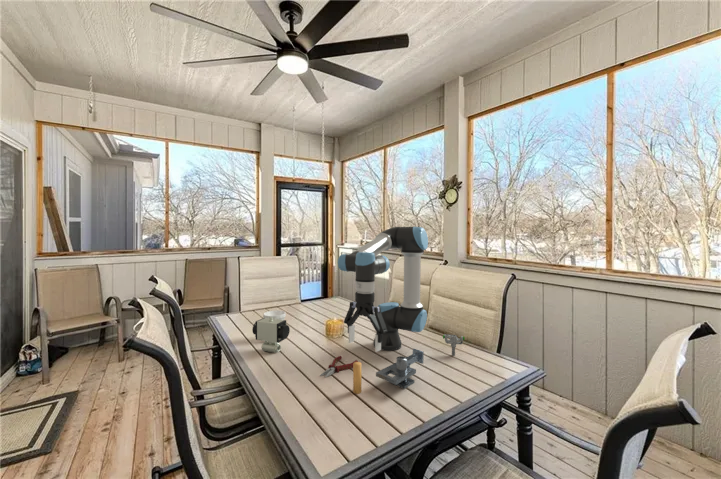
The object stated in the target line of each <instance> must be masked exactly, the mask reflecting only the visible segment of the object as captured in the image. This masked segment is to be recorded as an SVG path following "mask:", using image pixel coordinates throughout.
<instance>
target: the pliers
mask: <svg viewBox="0 0 721 479" xmlns="http://www.w3.org/2000/svg"><path fill="white" fill-rule="evenodd" d="M342 359H343V357H342V355H338V356H337V357H335V358H334V359H333V361H332V364H329V365H328V367H327V368H328V369H326V370H324V371H323V372H322V373H321V374H320V375H319V376H320V377H323V376H324V378H327V377H330V376H331V375H333V374H335V373H338V374H339V373H340V372H341V371H346V370H350V369H353V363H354V362H359V361H358V360H357V359H356V360H354V361H352V362H350V363H346V364H341V365H336V364H337V363H338V362H340V361H342Z"/></svg>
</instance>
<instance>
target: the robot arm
mask: <svg viewBox="0 0 721 479" xmlns="http://www.w3.org/2000/svg"><path fill="white" fill-rule="evenodd" d="M428 245H429V238H428V233H427V231H426V230H425V228H424V227H422V226H393V227H390V228H388V229H385V230H383V231H381V232H380V233H378V234H377V235H376V236H375V238H374V239H372V240H371V241H369V242H367V243H365V244H364V245H362V246H361V247H359V248H358V249H356V250H354V251H353V252H351V253H342V254H341V255H339V257H338V259H337V267H338V269H339V270H340V271H343V272H347V273H348V272H350V273H355V280H354V281H355V283H354V284H355V288H354V289H355V293H354V296H355V297H354V301H350V302H349V307H348V310H347V312H346V315H345V318H344V320H343V323H344V324H346V326H347V334H348V343H349V344H351V343H353V342H356V341H355V338H356V337H355V333H356V330H355V327H356V326H355V325H354V324H355V322H356V321H357V320H358V318H359V317H360V316H361V317H362V316H363V317H365V318H367V319H368V320H369V322H370V323H371V324H372V327H373V328H374V331H375V332H376V333H375V334H374V340H373V348H374V351H375V352H376V353H377V352H380V351H387V352H389V351H390V352H391V351H397V350H399V349H401V348H402V340H401V336H400V334H399V330H403V331H406V332H407V331H409V332H412V333H421V332H422V331H423V330H424V329H425V327H426V323H427V320H428V319H427V318H428V313H427V310H425V309H424V305H423V304H422V302H421V271H422V269H421V265H422V264H421V263H422V257H421V256H423V254H424V253H425V252H424V251H425V250H427V249H428V247H429V246H428ZM390 249H391V250H393V249H399V250H400V252H401V254H402V256H403V299H402V300H403V301H402V302H401V303H400V304H399V302H395V301H393V302H392V301H390V302H384V303H380V304H378V306H375V305H374V303H375V299H376V298H375V296H376V294H375V290H376V288H375V287H376V286H375V284H376V283H375V282H376V281H375V279H376V278H375V276H376V275H381V274H384V273H386V272H388V270H389V269H390V267H391V266H390V264H391V263H390V262H391V261H390V260H389V259H388V257H387V256H385V255H383V254H382V255H380V254H381V253H383V252H384V251H388V250H390Z"/></svg>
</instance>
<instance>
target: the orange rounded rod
mask: <svg viewBox="0 0 721 479" xmlns="http://www.w3.org/2000/svg"><path fill="white" fill-rule="evenodd" d="M353 362H354V361H353ZM362 364H363V363H362V362H360V361H358V362H354V363H353V368H352V371H353V372H352V374H353V376H352V380H353V383H352V387H353V388H352V393H353V394H357V395H358V394H359V395H360V394H361V393H362V378H363V377H362Z"/></svg>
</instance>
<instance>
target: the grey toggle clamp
mask: <svg viewBox="0 0 721 479" xmlns="http://www.w3.org/2000/svg"><path fill="white" fill-rule="evenodd" d="M424 361H425V360H424V351H421V350H419V349H418V348H417V349H416V348H412V354H410V355H408V356H403V355H402V356H396V362H394V363H392V364H390V365H388V366H386V367H385V368H382V369H380V370H378V371H376V372H375V377H377V378H379V379H381V380H383V381H386V382H388V383H390V384H393V385H394V386H397V387H399V388H401V389H404V390H405V389H407V388H409V387H410V386H411V385H413V384H415V383H416V382H415V381H416V380H414V379H412V378H410V377H412V376H414V375H415V374H417V369H416V368H413V367H411V365H413V364H416V363H418V364H424ZM390 375H393V376H390Z"/></svg>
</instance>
